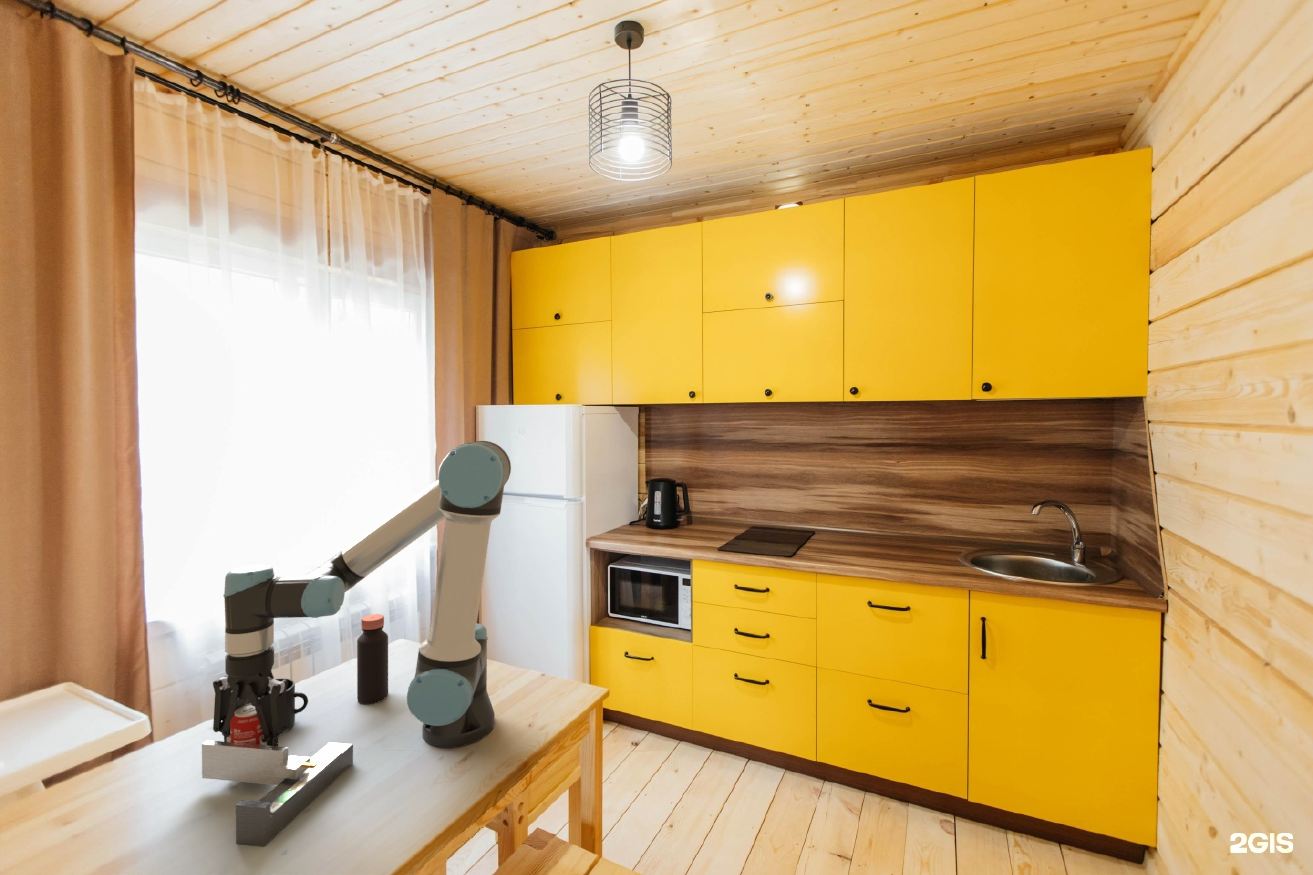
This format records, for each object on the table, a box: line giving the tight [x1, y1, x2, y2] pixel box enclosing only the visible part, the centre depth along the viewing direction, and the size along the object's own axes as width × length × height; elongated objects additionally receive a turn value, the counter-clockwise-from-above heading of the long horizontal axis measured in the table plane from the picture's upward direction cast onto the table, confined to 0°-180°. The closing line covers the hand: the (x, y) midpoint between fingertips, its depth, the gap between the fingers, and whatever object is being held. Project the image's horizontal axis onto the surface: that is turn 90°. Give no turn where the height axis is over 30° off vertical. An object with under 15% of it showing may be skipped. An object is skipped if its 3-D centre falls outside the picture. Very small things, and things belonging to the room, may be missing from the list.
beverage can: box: [230, 703, 264, 745], centre depth 107 cm, size 6×6×12 cm
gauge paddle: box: [201, 739, 317, 786], centre depth 103 cm, size 22×4×6 cm, turn 84°
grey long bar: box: [235, 741, 354, 848], centre depth 102 cm, size 5×22×6 cm, turn 174°
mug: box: [245, 678, 309, 731], centre depth 125 cm, size 9×12×9 cm
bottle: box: [356, 613, 389, 705], centre depth 138 cm, size 7×7×20 cm
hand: (251, 768), depth 108 cm, fingers closed on beverage can, 6 cm apart
